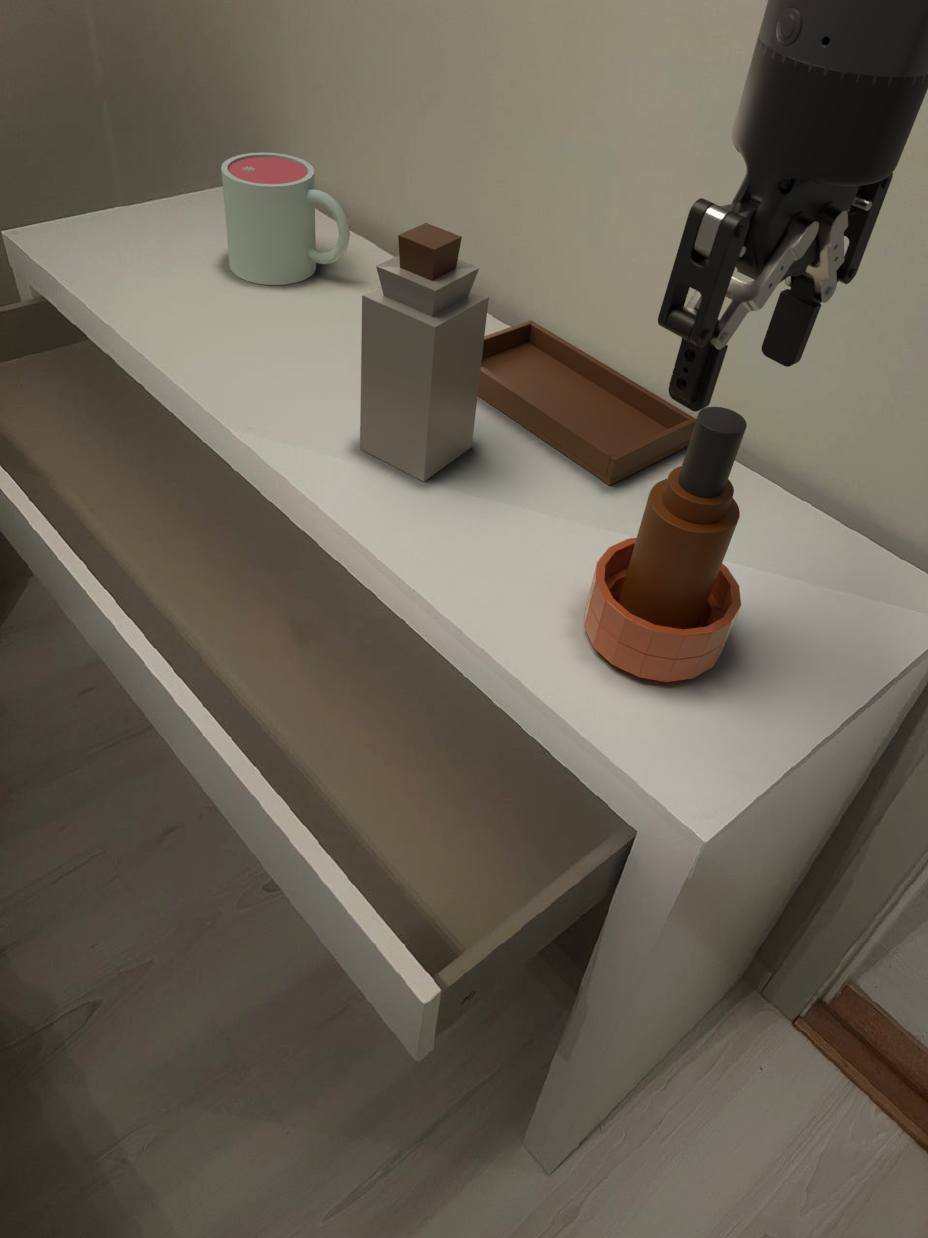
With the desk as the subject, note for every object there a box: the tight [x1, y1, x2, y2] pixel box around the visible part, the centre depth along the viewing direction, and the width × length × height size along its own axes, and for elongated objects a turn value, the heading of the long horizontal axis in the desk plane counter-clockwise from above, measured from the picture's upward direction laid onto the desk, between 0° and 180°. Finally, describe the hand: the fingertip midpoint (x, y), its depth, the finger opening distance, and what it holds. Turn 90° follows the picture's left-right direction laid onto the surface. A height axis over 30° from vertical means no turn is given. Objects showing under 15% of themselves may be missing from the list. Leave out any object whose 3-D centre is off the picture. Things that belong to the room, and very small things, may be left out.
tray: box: [478, 319, 697, 486], centre depth 84 cm, size 21×11×3 cm, turn 41°
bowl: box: [583, 537, 742, 683], centre depth 63 cm, size 10×10×5 cm
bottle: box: [618, 406, 748, 629], centre depth 59 cm, size 6×6×17 cm
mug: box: [220, 152, 351, 286], centre depth 97 cm, size 14×9×10 cm
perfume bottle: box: [359, 222, 490, 482], centre depth 72 cm, size 7×7×18 cm
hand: (734, 380), depth 51 cm, fingers open, 8 cm apart
